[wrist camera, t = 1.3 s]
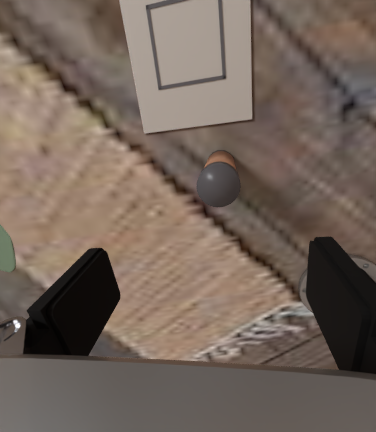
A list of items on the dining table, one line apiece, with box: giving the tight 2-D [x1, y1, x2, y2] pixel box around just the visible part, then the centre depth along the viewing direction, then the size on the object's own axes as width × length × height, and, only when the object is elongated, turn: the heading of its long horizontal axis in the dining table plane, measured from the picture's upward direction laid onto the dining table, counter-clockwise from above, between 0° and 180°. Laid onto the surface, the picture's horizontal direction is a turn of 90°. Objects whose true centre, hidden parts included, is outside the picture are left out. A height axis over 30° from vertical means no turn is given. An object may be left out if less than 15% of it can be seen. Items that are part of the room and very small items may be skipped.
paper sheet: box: [119, 0, 252, 134], centre depth 27 cm, size 15×19×1 cm
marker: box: [197, 150, 240, 207], centre depth 27 cm, size 4×4×12 cm
